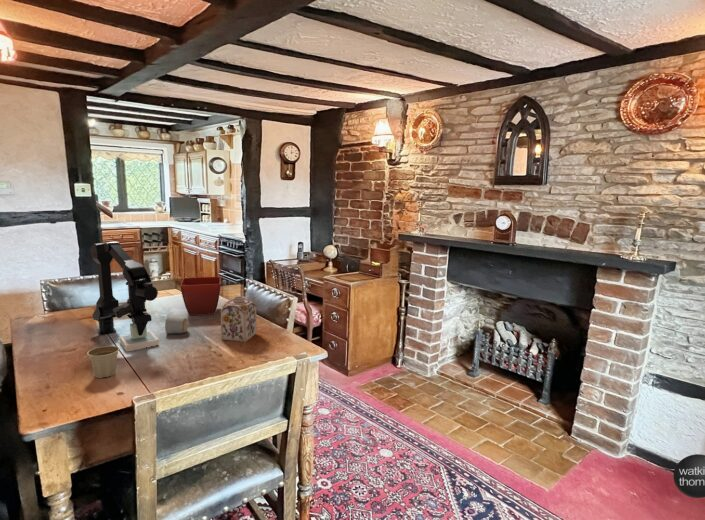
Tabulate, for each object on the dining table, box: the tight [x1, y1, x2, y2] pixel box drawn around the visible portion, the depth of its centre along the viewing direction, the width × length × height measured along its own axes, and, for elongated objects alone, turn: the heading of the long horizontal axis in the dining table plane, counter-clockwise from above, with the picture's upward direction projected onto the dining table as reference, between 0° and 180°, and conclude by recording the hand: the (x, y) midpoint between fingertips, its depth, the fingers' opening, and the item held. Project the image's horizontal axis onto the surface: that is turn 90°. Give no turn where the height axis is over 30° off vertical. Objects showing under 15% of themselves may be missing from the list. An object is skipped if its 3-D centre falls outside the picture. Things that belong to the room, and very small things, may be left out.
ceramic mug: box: [164, 315, 189, 335], centre depth 186 cm, size 11×8×8 cm
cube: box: [129, 322, 148, 339], centre depth 170 cm, size 5×5×5 cm
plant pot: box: [179, 276, 222, 316], centre depth 216 cm, size 19×19×17 cm
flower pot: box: [86, 345, 120, 379], centre depth 142 cm, size 9×9×9 cm
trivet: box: [119, 330, 160, 352], centre depth 171 cm, size 12×12×3 cm
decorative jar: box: [220, 295, 258, 343], centre depth 181 cm, size 12×12×18 cm
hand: (138, 333), depth 170 cm, fingers closed on cube, 5 cm apart
